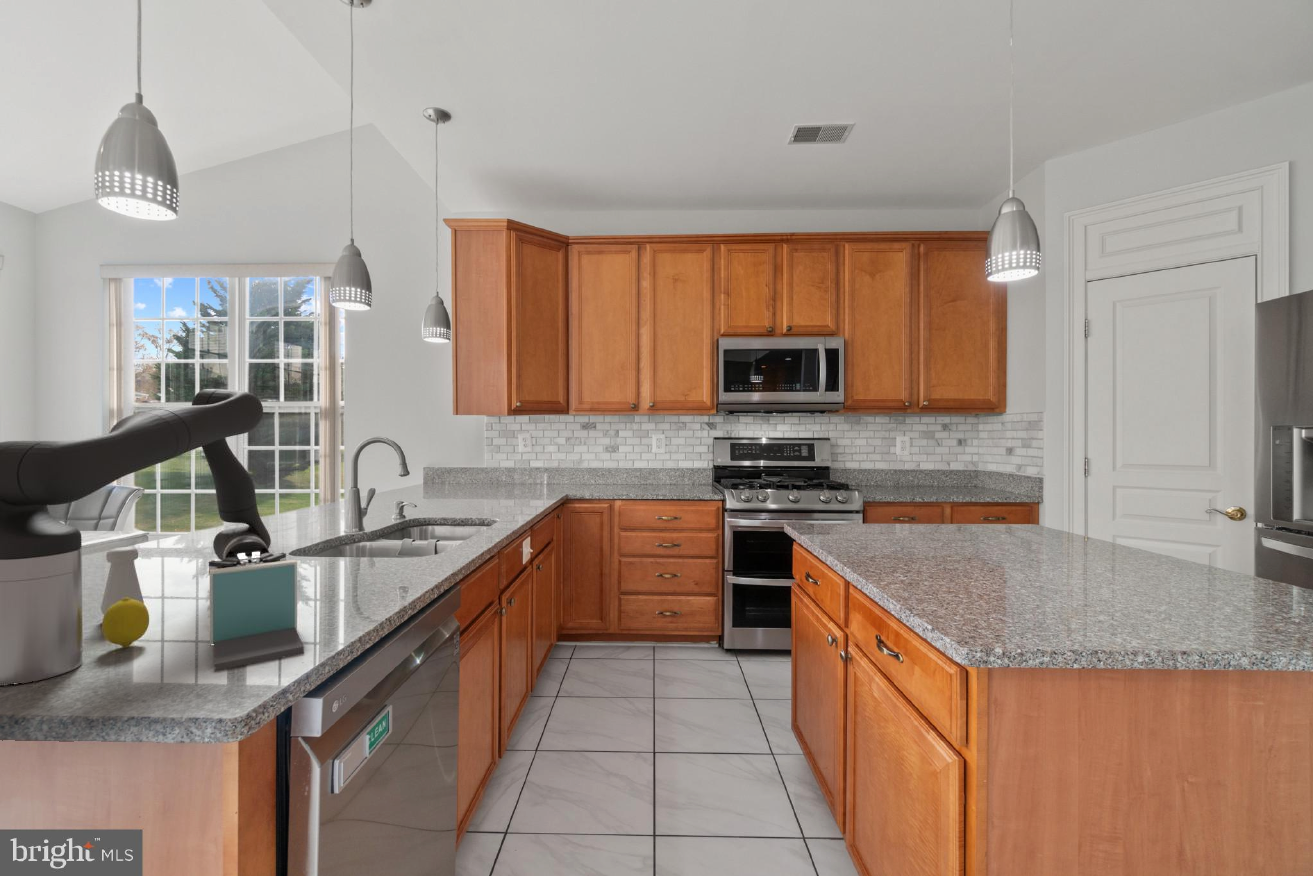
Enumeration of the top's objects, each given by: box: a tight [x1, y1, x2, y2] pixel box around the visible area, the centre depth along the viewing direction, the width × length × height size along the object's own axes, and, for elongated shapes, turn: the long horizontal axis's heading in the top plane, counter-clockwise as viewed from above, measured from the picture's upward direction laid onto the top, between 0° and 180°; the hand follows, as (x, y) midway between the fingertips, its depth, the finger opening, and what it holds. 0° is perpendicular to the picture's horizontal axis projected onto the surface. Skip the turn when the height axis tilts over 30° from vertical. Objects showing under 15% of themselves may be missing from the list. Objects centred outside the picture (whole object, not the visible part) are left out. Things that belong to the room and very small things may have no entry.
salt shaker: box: [100, 546, 145, 616], centre depth 104 cm, size 6×6×13 cm
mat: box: [213, 627, 305, 672], centre depth 90 cm, size 11×11×1 cm
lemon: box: [101, 597, 150, 648], centre depth 91 cm, size 6×6×8 cm
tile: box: [209, 559, 298, 646], centre depth 96 cm, size 12×2×12 cm, turn 129°
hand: (251, 572), depth 104 cm, fingers closed
